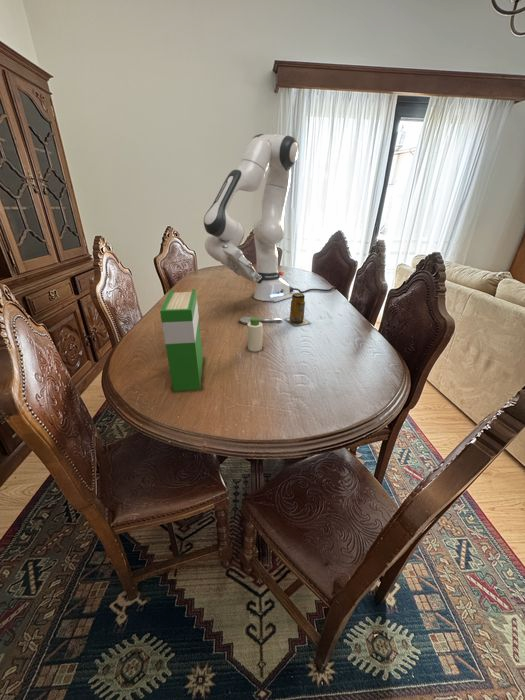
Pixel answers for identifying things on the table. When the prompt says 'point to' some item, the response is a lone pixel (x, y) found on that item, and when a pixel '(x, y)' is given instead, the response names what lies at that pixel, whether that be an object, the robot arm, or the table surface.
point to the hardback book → (183, 339)
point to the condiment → (297, 310)
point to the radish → (254, 334)
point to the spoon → (248, 319)
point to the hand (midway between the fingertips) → (255, 271)
